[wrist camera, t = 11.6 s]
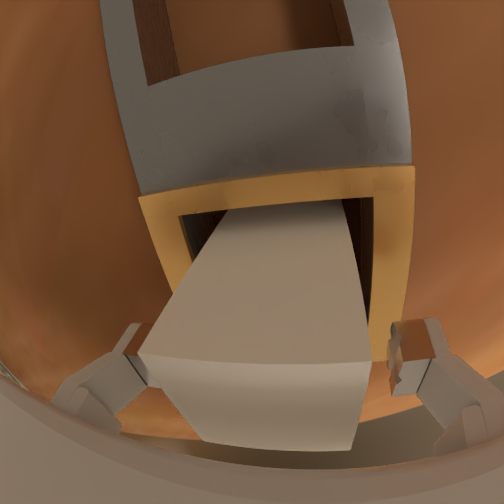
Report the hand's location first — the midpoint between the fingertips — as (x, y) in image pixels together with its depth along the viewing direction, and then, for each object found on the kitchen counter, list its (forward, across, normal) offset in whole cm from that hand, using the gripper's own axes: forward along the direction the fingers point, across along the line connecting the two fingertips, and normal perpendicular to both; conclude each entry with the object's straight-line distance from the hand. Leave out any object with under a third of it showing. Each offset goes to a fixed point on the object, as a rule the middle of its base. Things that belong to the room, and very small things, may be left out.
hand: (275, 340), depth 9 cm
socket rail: (+6, 0, -6) cm, 9 cm away
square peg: (+6, 0, 0) cm, 6 cm away
